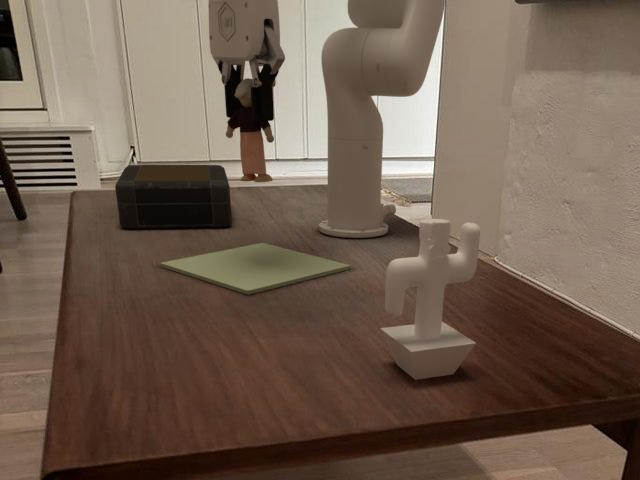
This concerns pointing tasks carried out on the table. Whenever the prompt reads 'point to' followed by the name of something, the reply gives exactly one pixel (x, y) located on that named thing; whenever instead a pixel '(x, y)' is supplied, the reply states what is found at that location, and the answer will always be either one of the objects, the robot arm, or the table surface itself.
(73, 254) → the table surface
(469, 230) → the figurine
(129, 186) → the cash box
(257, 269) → the mat
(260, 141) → the grandmother figurine
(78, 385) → the table surface
